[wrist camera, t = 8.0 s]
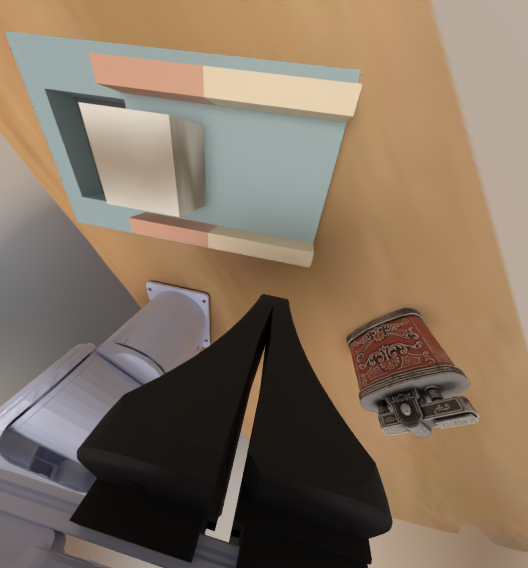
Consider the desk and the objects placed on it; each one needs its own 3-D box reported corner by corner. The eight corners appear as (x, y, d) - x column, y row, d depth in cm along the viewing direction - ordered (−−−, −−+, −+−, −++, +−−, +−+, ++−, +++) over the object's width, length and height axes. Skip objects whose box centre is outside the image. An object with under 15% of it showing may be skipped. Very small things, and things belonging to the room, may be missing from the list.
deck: (306, 255, 19) (306, 278, 15) (100, 216, 21) (55, 228, 17) (352, 85, 13) (371, 53, 9) (47, 49, 15) (-43, 11, 11)
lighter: (357, 352, 25) (382, 450, 16) (340, 336, 24) (358, 431, 15) (427, 322, 21) (508, 432, 12) (409, 301, 20) (484, 404, 11)
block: (206, 205, 16) (179, 217, 13) (148, 194, 16) (107, 203, 13) (203, 126, 13) (168, 114, 10) (134, 116, 14) (78, 101, 10)
